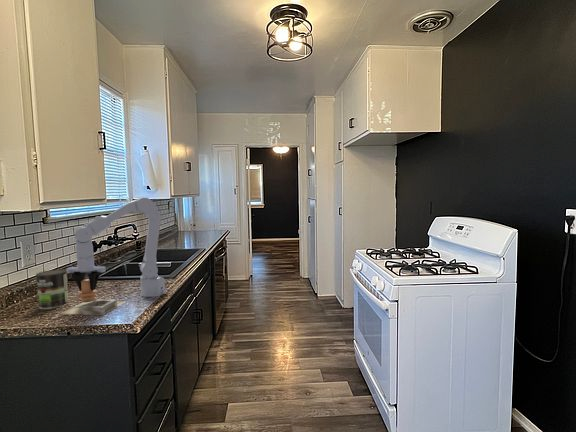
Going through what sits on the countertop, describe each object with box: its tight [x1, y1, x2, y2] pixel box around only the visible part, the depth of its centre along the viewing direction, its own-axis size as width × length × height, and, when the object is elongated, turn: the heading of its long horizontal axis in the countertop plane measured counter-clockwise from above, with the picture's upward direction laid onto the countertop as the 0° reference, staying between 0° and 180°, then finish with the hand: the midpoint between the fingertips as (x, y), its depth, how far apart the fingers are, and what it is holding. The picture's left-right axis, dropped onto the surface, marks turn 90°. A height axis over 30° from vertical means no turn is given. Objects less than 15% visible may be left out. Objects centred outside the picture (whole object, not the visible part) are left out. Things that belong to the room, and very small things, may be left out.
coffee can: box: [35, 268, 69, 310], centre depth 134 cm, size 10×10×14 cm
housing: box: [59, 298, 126, 316], centre depth 127 cm, size 18×14×4 cm
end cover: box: [77, 278, 98, 303], centre depth 129 cm, size 7×7×8 cm
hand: (87, 289), depth 130 cm, fingers closed on end cover, 4 cm apart
